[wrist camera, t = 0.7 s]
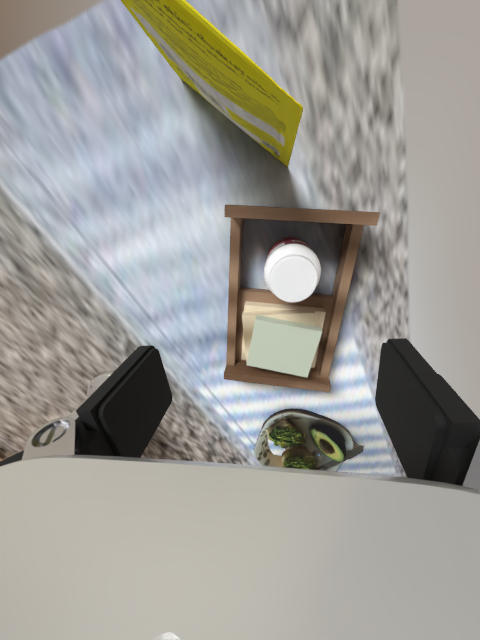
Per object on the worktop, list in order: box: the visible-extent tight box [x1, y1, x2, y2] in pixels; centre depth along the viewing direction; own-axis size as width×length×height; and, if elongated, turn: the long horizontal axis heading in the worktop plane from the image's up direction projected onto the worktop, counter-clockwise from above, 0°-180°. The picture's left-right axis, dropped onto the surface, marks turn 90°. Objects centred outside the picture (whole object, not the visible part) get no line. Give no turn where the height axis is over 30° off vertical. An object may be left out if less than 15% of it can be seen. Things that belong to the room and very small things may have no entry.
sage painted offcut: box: [246, 315, 322, 378], centre depth 34 cm, size 7×9×2 cm
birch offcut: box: [241, 301, 326, 368], centre depth 37 cm, size 9×11×2 cm
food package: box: [121, 0, 303, 167], centre depth 20 cm, size 15×1×20 cm, turn 55°
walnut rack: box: [224, 205, 380, 392], centre depth 34 cm, size 24×16×7 cm, turn 177°
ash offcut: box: [242, 309, 316, 366], centre depth 36 cm, size 8×10×2 cm
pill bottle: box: [264, 237, 321, 302], centre depth 30 cm, size 6×6×11 cm
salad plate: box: [254, 409, 363, 472], centre depth 47 cm, size 19×18×5 cm
